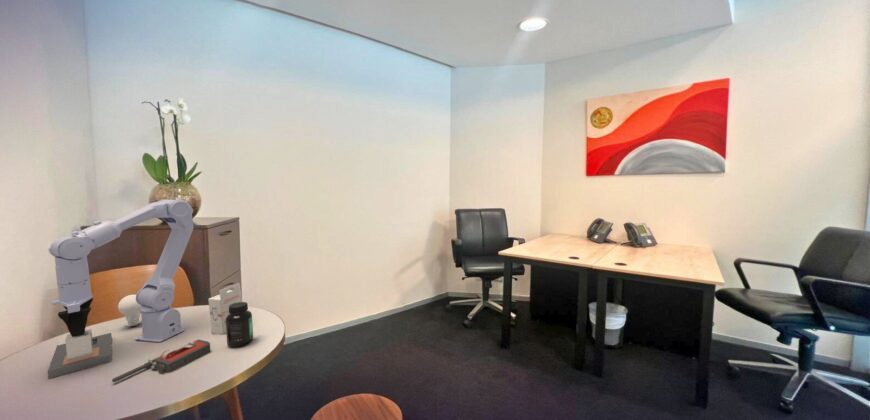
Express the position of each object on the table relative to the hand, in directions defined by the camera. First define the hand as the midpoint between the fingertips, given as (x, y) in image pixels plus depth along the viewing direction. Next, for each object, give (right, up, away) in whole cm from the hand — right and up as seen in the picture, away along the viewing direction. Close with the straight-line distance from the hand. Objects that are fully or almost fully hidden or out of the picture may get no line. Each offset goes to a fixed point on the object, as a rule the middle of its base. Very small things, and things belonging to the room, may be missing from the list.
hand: (79, 330), depth 86 cm
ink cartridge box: (+26, -7, +21) cm, 34 cm away
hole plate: (-3, -9, +4) cm, 10 cm away
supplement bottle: (+37, -8, +11) cm, 39 cm away
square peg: (0, -7, 0) cm, 7 cm away
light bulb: (-7, -7, +23) cm, 25 cm away
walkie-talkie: (+24, -10, 0) cm, 26 cm away
